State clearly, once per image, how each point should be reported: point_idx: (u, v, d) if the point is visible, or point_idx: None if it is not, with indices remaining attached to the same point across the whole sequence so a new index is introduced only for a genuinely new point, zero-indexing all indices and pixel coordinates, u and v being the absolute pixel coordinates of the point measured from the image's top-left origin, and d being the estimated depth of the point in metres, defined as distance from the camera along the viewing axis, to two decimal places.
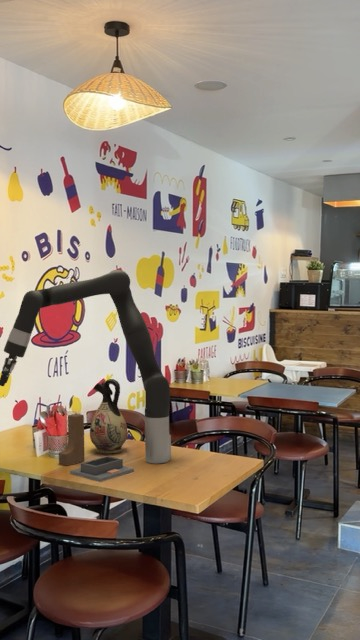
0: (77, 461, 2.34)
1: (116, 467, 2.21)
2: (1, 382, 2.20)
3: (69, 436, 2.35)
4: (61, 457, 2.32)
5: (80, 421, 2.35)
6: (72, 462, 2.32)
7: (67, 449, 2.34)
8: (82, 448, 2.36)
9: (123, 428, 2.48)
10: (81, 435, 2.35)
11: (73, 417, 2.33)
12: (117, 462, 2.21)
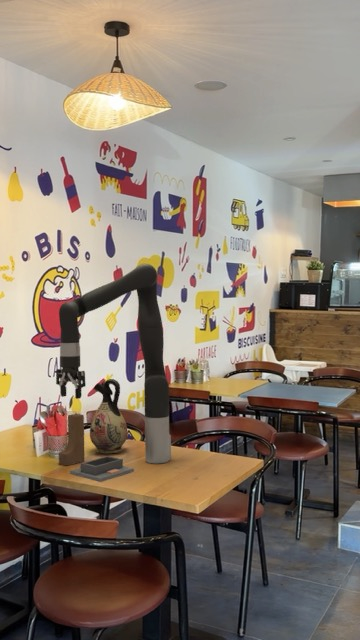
0: (77, 461, 2.34)
1: (116, 467, 2.21)
2: (79, 395, 2.31)
3: (69, 436, 2.35)
4: (61, 457, 2.32)
5: (80, 421, 2.35)
6: (72, 462, 2.32)
7: (67, 449, 2.34)
8: (82, 448, 2.36)
9: (123, 428, 2.48)
10: (81, 435, 2.35)
11: (73, 417, 2.33)
12: (117, 462, 2.21)
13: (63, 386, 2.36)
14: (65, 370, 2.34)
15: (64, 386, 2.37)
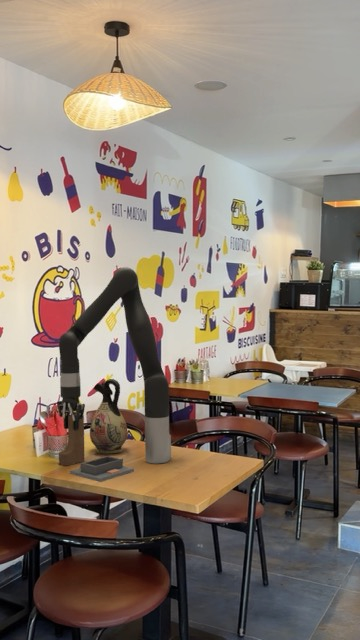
0: (77, 461, 2.34)
1: (116, 467, 2.21)
2: (77, 427, 2.32)
3: (69, 436, 2.35)
4: (61, 457, 2.32)
5: (80, 421, 2.35)
6: (72, 462, 2.32)
7: (67, 449, 2.34)
8: (82, 448, 2.36)
9: (123, 428, 2.48)
10: (81, 435, 2.35)
11: None
12: (117, 462, 2.21)
13: (66, 418, 2.36)
14: (65, 400, 2.34)
15: None
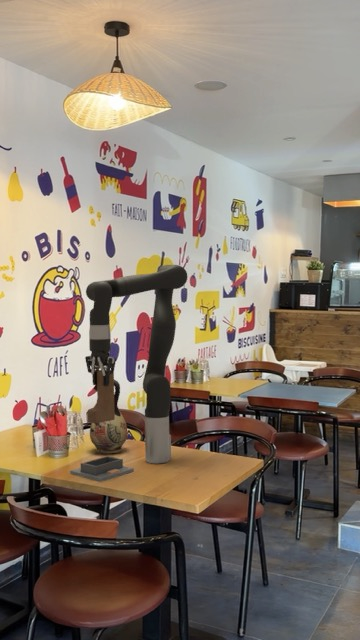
0: (107, 419, 2.20)
1: (116, 467, 2.21)
2: (107, 382, 2.18)
3: (98, 393, 2.21)
4: (90, 414, 2.17)
5: (110, 377, 2.20)
6: (102, 420, 2.18)
7: (96, 406, 2.20)
8: (112, 406, 2.21)
9: (123, 428, 2.48)
10: (111, 392, 2.21)
11: None
12: (117, 462, 2.21)
13: (96, 373, 2.21)
14: (95, 354, 2.20)
15: None
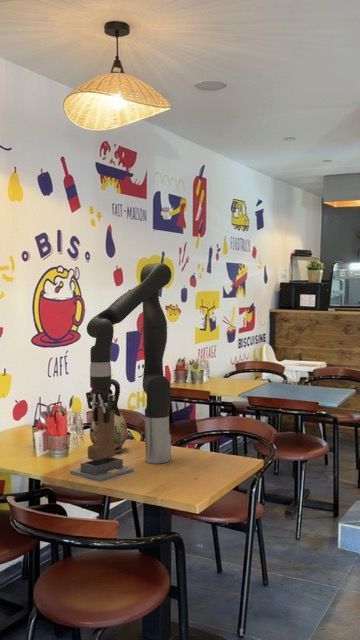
0: (107, 456, 2.20)
1: (116, 467, 2.21)
2: (107, 419, 2.18)
3: (99, 429, 2.21)
4: (90, 451, 2.18)
5: (110, 413, 2.21)
6: (102, 457, 2.18)
7: (97, 443, 2.20)
8: (112, 442, 2.22)
9: (123, 428, 2.48)
10: (111, 428, 2.21)
11: None
12: (117, 462, 2.21)
13: (96, 410, 2.22)
14: (95, 391, 2.20)
15: None
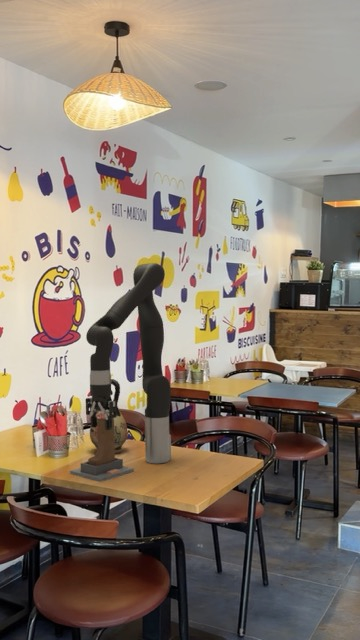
0: None
1: (116, 467, 2.21)
2: (110, 426, 2.17)
3: (99, 441, 2.21)
4: (91, 464, 2.18)
5: None
6: None
7: (97, 455, 2.20)
8: (112, 454, 2.22)
9: (123, 428, 2.48)
10: (111, 440, 2.21)
11: (103, 421, 2.19)
12: (117, 462, 2.21)
13: (94, 416, 2.23)
14: (95, 399, 2.20)
15: (95, 416, 2.23)
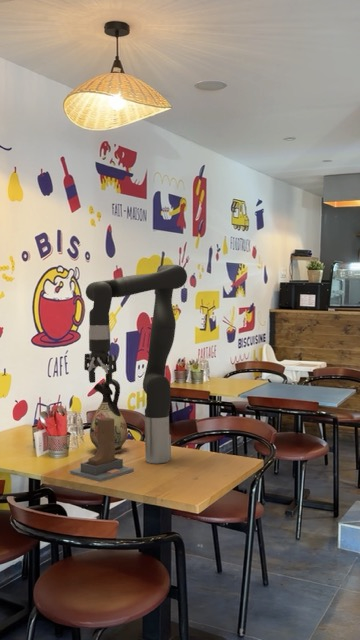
0: None
1: (116, 467, 2.21)
2: (110, 380, 2.16)
3: (99, 441, 2.21)
4: (91, 464, 2.18)
5: (111, 425, 2.21)
6: None
7: (97, 455, 2.20)
8: (113, 454, 2.22)
9: (123, 428, 2.48)
10: (112, 440, 2.21)
11: (103, 421, 2.19)
12: (117, 462, 2.21)
13: (92, 372, 2.22)
14: (94, 354, 2.20)
15: (93, 372, 2.23)
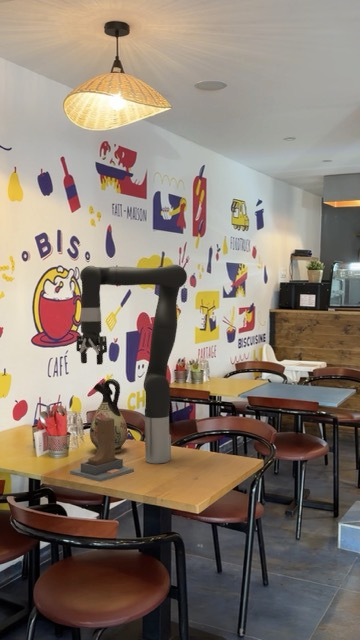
0: None
1: (116, 467, 2.21)
2: (100, 361, 2.25)
3: (99, 441, 2.21)
4: (91, 464, 2.18)
5: (111, 425, 2.21)
6: None
7: (97, 455, 2.20)
8: (113, 454, 2.22)
9: (123, 428, 2.48)
10: (112, 440, 2.21)
11: (103, 421, 2.19)
12: (117, 462, 2.21)
13: (84, 353, 2.31)
14: (86, 336, 2.29)
15: (85, 353, 2.31)
